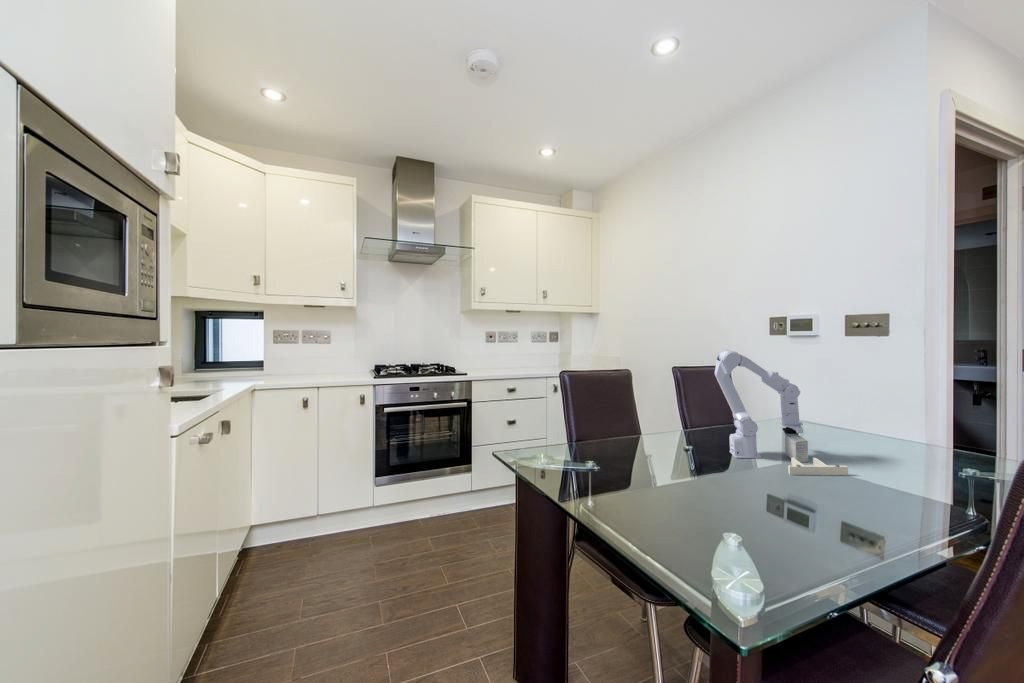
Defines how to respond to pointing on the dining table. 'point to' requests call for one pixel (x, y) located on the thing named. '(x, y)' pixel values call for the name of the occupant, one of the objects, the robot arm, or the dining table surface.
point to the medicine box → (796, 447)
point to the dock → (815, 468)
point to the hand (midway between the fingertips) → (792, 445)
